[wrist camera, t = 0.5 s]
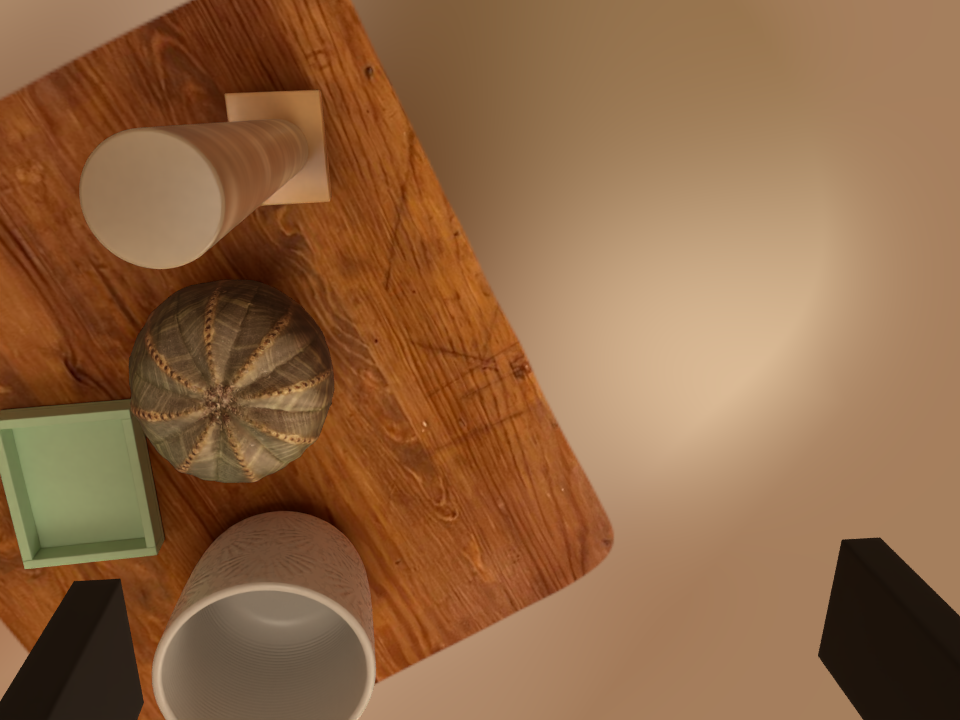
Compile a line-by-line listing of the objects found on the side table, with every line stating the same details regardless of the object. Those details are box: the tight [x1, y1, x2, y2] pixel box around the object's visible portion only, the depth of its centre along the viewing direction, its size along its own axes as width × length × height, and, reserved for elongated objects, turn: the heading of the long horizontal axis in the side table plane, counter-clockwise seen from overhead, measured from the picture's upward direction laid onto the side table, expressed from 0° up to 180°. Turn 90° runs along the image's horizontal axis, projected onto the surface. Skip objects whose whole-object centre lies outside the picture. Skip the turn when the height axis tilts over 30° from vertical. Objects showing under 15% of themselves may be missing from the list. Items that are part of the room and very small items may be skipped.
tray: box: [0, 399, 165, 569], centre depth 50 cm, size 10×8×2 cm
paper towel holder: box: [79, 90, 332, 269], centre depth 32 cm, size 6×5×30 cm
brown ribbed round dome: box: [129, 280, 334, 483], centre depth 44 cm, size 11×11×12 cm
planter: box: [152, 511, 376, 720], centre depth 49 cm, size 12×12×11 cm
